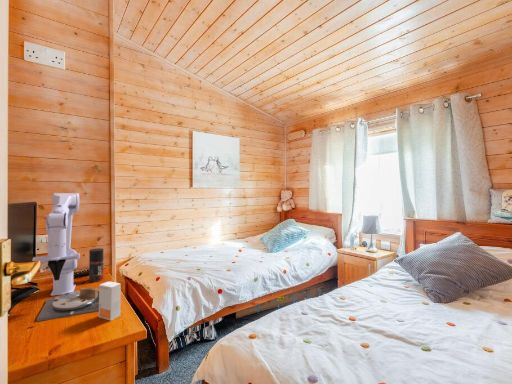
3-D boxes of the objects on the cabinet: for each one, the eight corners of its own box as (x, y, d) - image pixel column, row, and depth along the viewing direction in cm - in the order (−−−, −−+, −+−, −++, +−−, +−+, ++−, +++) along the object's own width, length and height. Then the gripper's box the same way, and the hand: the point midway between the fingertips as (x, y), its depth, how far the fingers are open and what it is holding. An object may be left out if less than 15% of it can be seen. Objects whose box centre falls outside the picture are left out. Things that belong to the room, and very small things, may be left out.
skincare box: (98, 318, 96) (98, 284, 96) (108, 312, 100) (108, 280, 100) (111, 321, 94) (111, 287, 93) (121, 315, 98) (121, 283, 97)
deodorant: (96, 282, 129) (97, 251, 129) (86, 281, 130) (86, 250, 130) (106, 278, 135) (106, 248, 135) (95, 277, 136) (96, 248, 136)
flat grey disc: (42, 310, 98) (42, 295, 98) (70, 294, 112) (70, 281, 112) (84, 311, 98) (84, 296, 98) (106, 295, 112) (106, 282, 112)
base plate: (47, 301, 108) (47, 298, 108) (104, 292, 118) (104, 290, 118) (36, 323, 92) (36, 319, 92) (103, 311, 101) (103, 308, 101)
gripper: (30, 248, 97) (30, 286, 97) (78, 244, 103) (78, 280, 104) (35, 244, 103) (35, 279, 103) (80, 241, 110) (80, 274, 110)
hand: (57, 279), depth 104 cm, fingers closed
